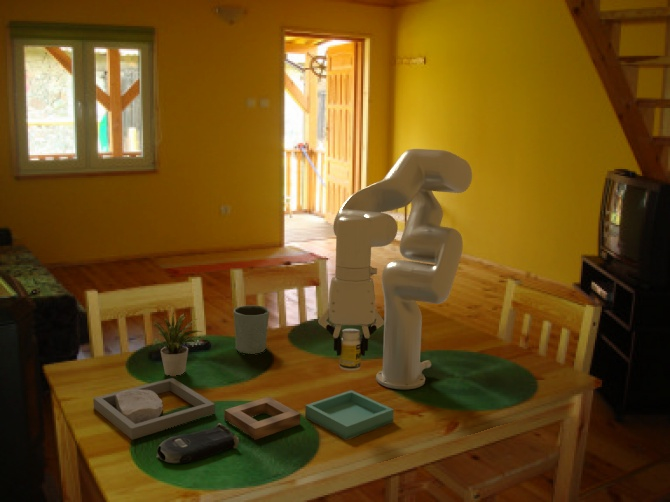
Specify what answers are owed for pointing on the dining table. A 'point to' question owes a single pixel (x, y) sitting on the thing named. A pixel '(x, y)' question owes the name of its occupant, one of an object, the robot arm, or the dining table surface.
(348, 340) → the supplement bottle
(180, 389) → the gray rectangular frame
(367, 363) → the dining table surface
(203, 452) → the electronic device
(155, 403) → the stone block
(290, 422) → the square wooden frame
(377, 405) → the tray
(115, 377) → the dining table surface
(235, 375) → the dining table surface
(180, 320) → the house plant
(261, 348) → the gray cup
